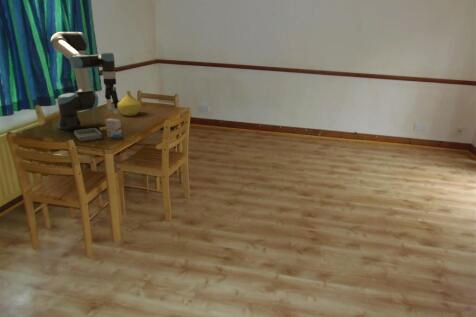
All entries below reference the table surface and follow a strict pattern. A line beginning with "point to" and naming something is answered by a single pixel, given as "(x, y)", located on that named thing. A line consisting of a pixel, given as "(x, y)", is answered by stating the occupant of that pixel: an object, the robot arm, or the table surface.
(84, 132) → the tray
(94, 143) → the table surface
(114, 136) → the ink box
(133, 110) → the yellow rounded bulb
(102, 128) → the puller tool
